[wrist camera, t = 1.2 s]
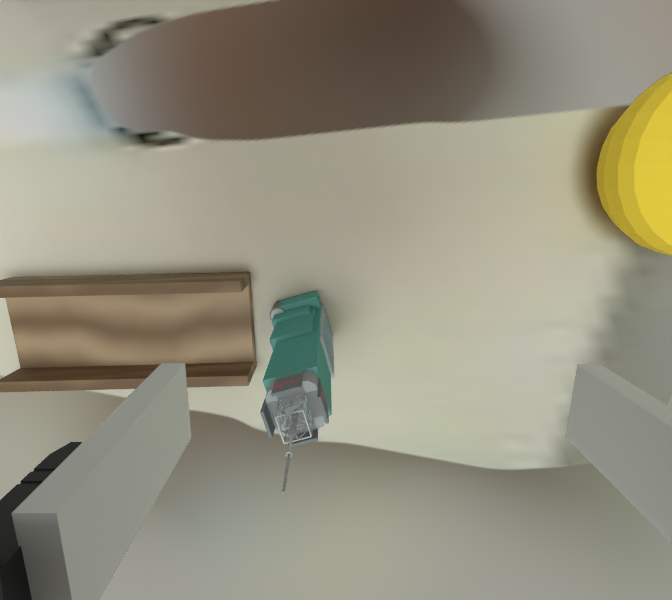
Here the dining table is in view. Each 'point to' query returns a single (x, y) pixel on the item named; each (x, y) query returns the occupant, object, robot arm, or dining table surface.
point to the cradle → (129, 330)
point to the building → (298, 371)
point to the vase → (641, 169)
